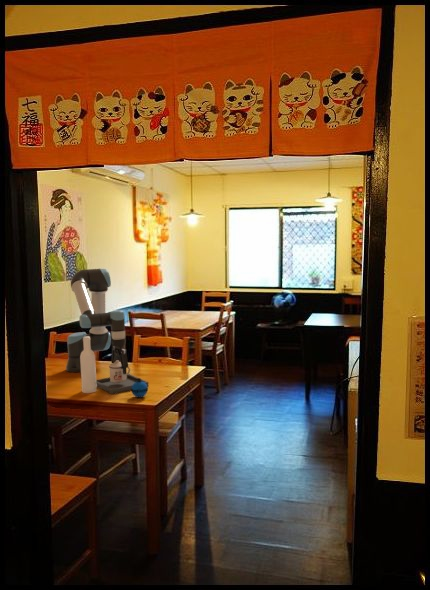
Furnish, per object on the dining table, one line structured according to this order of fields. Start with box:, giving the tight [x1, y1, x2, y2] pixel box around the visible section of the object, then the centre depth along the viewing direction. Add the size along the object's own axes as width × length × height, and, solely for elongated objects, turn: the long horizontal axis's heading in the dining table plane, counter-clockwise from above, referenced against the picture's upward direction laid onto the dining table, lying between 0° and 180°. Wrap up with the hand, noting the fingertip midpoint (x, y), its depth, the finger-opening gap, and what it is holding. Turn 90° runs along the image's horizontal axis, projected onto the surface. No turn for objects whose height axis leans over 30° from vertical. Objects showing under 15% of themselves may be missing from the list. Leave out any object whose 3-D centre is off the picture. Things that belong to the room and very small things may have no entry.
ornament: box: [130, 377, 149, 398], centre depth 259 cm, size 9×9×10 cm
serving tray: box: [96, 373, 149, 395], centre depth 281 cm, size 24×22×2 cm
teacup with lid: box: [108, 359, 131, 383], centre depth 280 cm, size 12×9×12 cm
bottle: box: [80, 336, 98, 394], centre depth 270 cm, size 8×8×30 cm
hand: (120, 377), depth 280 cm, fingers closed on teacup with lid, 9 cm apart
